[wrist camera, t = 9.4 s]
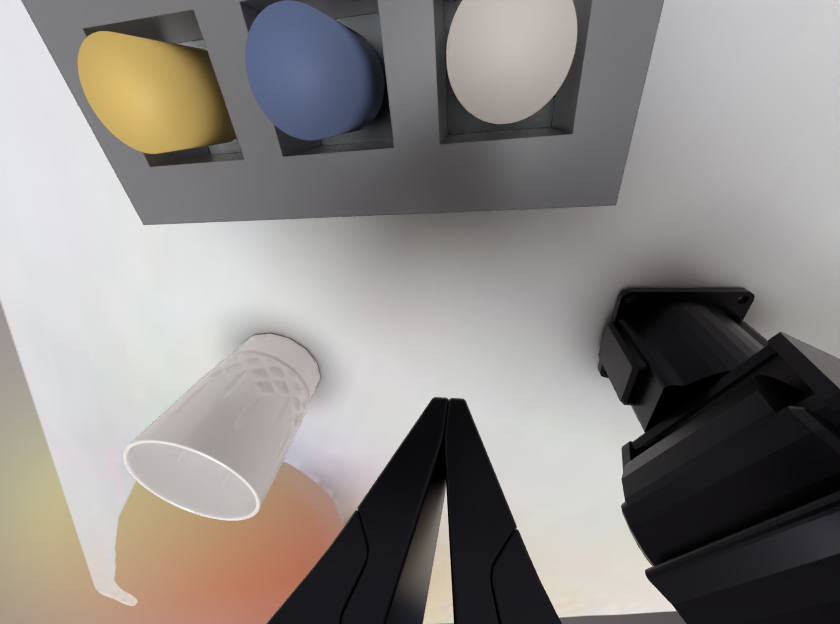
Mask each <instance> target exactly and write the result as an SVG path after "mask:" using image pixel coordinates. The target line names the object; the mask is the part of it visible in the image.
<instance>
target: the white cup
mask: <svg viewBox="0 0 840 624" xmlns="http://www.w3.org/2000/svg"><path fill="white" fill-rule="evenodd" d="M319 380H320V373H319V369H318V365H317V363H316V361H315V360H314V359H313V357H312V356H311V355H310V354H309V352H308V351H307V350H306V349H305V348H303V347H302V346H300V345H299V344H297V343H296V342H294V341H292V340H291V339H289V338H286V337H282V336H278V335H275V334H271V333H269V334H260V335H253V336H252V337H250V338H249V339H248V340H247V341H245V342H244V343H243V344H242V345H240V346H239V347H238V348H237V349H236V350H235V351H234V352H233V353H232V354H231V355H230V356H228V357H227V358H225V359H223V360H222V361H220V362H219V363H218V364H217V365H216V366H215V367H214V368H213V369H212V370H210V371H209V372H208V373H206V374H205V375H204V376H203V377H202V378H201V379H200V380H199V381H198V382H196V383H195V384H194V385H193V386H192V387H191V388H190V389H189V390H188V391H187V392H186V393H184V394H183V395H182V396H181V397H180V398H179V399H178V400H177V401H176V402H174V403H173V404H172V405H171V406H170V407H169V408H168V409H167V410H166V411H165V412H164V413H162V414H161V415H160V416H159V417H158V418H157V419H156V420H155V421H154V422H152V423H151V424H150V425H149V426H148V427H147V428H146V429H145V430H144V431H143V432H141V433H140V434H139V435H138V436H137V437H136V438H135V439H134V440H133V441H131V442H130V443H129V444H128V445H127V446H126V447H125V448H124V450H123V454H122V458H123V462H124V465H125V467H126V468H127V470H128V471H129V473H130V474H131V475H132V476H133V477H134V478H135V479H136V480H137V481H138V482H139V483H140V484H141V485H142V486H144V487H145V488H146V489H147V490H149V491H150V492H152V493H153V494H155V495H156V496H158V497H159V498H161V499H163V500H165V501H167V502H169V503H171V504H173V505H175V506H177V507H179V508H181V509H184V510H186V511H189V512H192V513H195V514H198V515H201V516H205V517H209V518H214V519H219V520H230V521H235V520H244V519H248V518H250V517H252V516H254V515H255V514H256V513H257V512H258V511H259V509H260V507H261V505H262V503H263V501H264V498H265V497H266V495H267V492H268V490H269V488H270V486H271V484H272V482H273V480H274V478H275V476H276V474H277V472H278V470H279V468H280V466H281V464H282V462H283V460H284V458H285V456H286V454H287V452H288V450H289V448H290V446H291V443H292V441H293V439H294V437H295V435H296V433H297V431H298V429H299V427H300V425H301V422H302V419H303V417H304V416H305V414H306V412H307V407H308V404H309V402H310V399H311V398H312V396H313V394H314V392H315V390H316V387H317V385H318V383H319Z"/></svg>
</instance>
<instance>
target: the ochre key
mask: <svg viewBox="0 0 840 624" xmlns="http://www.w3.org/2000/svg"><path fill="white" fill-rule="evenodd" d="M78 73H79V79H80V82H81V86H82V88H83V91H84V94H85V96H86V98H87V100H88V102H89V104H90V106H91V107H92V109H93V111H94V112H95V114H96V115H97V117H98V118H99V119H100V121H101V122H102V123H103V124H104V126H105V127H106V128H107V129H108V130H109V131H110V132H111V133H112V134H113V135H114V136H115V137H117V138H118V139H119V140H120V141H122V142H123V143H125V144H126V145H128V146H130V147H131V148H133V149H135V150H138V151H141V152H144V153H149V154H158V153H164V152H171V151H177V150H183V149H189V148H196V147H202V146H208V145H214V144H221V143H227V142H230V141H233V140H234V139H236V138H237V136H236V133H235V130H234V127H233V124H232V121H231V119H230V116H229V113H228V110H227V107H226V104H225V101H224V98H223V95H222V92H221V89H220V86H219V83H218V80H217V77H216V74H215V71H214V68H213V66H212V63H211V60H210V57H209V54H208V51H206V50H202V49H198V48H193V47H188V46H183V45H178V44H173V43H167V42H162V41H157V40H152V39H147V38H141V37H136V36H131V35H126V34H121V33H116V32H110V31H98V32H95V33H92V34H91V35H89V36H88V37H87V38H86V39H84V41H83V43H82V44H81V46H80V49H79V53H78Z"/></svg>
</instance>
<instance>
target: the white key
mask: <svg viewBox="0 0 840 624" xmlns="http://www.w3.org/2000/svg"><path fill="white" fill-rule="evenodd" d="M576 42H577V18H576V11H575V7H574V3H573V0H462V2H461V3H460V5H459V7H458V9H457V11H456V13H455V16H454V18H453V21H452V24H451V27H450V31H449V35H448V41H447V49H446V62H447V71H448V76H449V80H450V83H451V86H452V89H453V91H454V93H455V95H456V97H457V98H458V100H459V102H460V103H461V104H462V105H463V107H464V108H465V109H466V110H467V111H468V112H469V113H471V114H472V115H474V116H475V117H476V118H478V119H481V120H483V121H486V122H489V123H494V124H508V123H514V122H517V121H520V120H523V119H525V118H527V117H529V116H531V115H533V114H534V113H536V112H537V111H538V110H540V109H541V108H542V107H544V106H545V105H546V104H547V103H548V102H549V101H550V100H551V98H552V97H553V96H554V95H555V94H556V92H557V91H558V89H559V88H560V86H561V85H562V83H563V81H564V79H565V78H566V76H567V74H568V71H569V69H570V66H571V64H572V60H573V57H574V53H575V48H576Z"/></svg>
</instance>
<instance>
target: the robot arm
mask: <svg viewBox="0 0 840 624" xmlns="http://www.w3.org/2000/svg"><path fill="white" fill-rule="evenodd" d="M628 296H632V298H631V299H629V300H625V299H626V298H627V297H628ZM742 296H743V297H742ZM740 297H742V298H741V299H739V298H740ZM738 299H739V300H738ZM753 300H754V294H753V293H751V292H750V291H748V290H747V289H744V288H629V289H625V290H623V291H622V292H620V294H619V296H618V299H617V302H616V306H615V309H614V313H613V317H612V320H611V321H610V322H609V323H608V324H607V325H606V329H605V332H604V336H603V340H602V343H601V347H600V351H599V358H600V363H599V366H598V370H599V372H600V374H601V376H603V377H606V378H609V379H610V381H611V383H612V385H613V387H614V389H615V391H616V393H617V396H618V398H619V400H620V401H621V402H622V403H623V404H624V405H631V406H632V408H633V410H634V412H635V414H636V416H637V418H638V420H639V422H640V424H641V426H642V428H643V430H644V432H645V433H644V434H643V435H642V436H640V437H639V438H637V439H636V440H635V441H633V442H631V441H630V442H628V443H627V444H625V445H624V446H623V447H622V461H623V475H622V484H623V490H624V496H625V502H624V503H623V504H622V506H621V508H622V513H623V516H624V518H625V520H626V522H627V525H628V527H629V529H630V532H631V533H632V535H633V537H634V539H635V541H636V543H637V545H638V547H639V548H640V550H641V551H642V553H643V554H644V556H645V557H646V559H647V560H648V561H649V563H650V564H651V565H652V566H653V567H650V568H648V569H646V570H645V574H646V576H647V578H648V580H649V581H650V582H651V583H652V584H653V585H654V586H655V587H656V588H657V589H658V590H659V591H660V592H661V593H662V595H663V596H664V597H665V598H666V599H667V600H668V601H669V602H670V603H671V604H672V605H673V606H674V608H675V609H676V610H677V611H678V613H679V614H680V615H681V617H682V618H683V619H684V621H685V622H686V623H687V624H840V359H839V358H836V357H834V356H832V355H830V354H828V353H826V352H823V351H821V350H819V349H817V348H815V347H813V346H811V345H808V344H806V343H804V342H802V341H800V340H798V339H796V338H793V337H791V336H789V335H787V334H785V333H783V332H779V333H778V334H776V335H775V336H774V337H772V338H771V339H770V340H768V341H767V340H766V339H765V338H764V337H762V336H761V335H760V334H759V333H758V332H756V331H755V330H754V329H753V328H752V327H750V326H749V325H748V324H747V323H745V322H744V321H743V319H744V317H745V315H746V313H747V311H748V310H749V308H750V306H751V304H752V302H753ZM605 370H606V371H605ZM446 487H447V505H448V523H449V541H450V559H451V577H452V595H453V613H454V624H561V621H560V619H559V617H558V615H557V614H556V612H555V610H554V608H553V606H552V604H551V601H550V599H549V597H548V595H547V593H546V591H545V589H544V587H543V585H542V583H541V581H540V579H539V577H538V575H537V572H536V570H535V568H534V566H533V563H532V561H531V559H530V557H529V554H528V552H527V550H526V547H525V545H524V542H523V540H522V538H521V535H520V533H519V530H517V529H516V528H517V526H516V523H515V521H514V518H513V516H512V514H511V511H510V509H509V506H508V504H507V501H506V499H505V496H504V494H503V491H502V489H501V487H500V484H499V482H498V479H497V477H496V474H495V472H494V469H493V467H492V464H491V462H490V460H489V457H488V455H487V452H486V450H485V447H484V445H483V442H482V440H481V437H480V435H479V433H478V430H477V428H476V425H475V423H474V420H473V418H472V415H471V413H470V410H469V408H468V406H467V403H466V401H465V400H464V399H460V398H450V399H448V398H442V397H434V398H433V399H432V400H431V401H430V403H429V404H428V406H427V407H426V409H425V410H424V411H423V413H422V414H421V416H420V417H419V419H418V420H417V422H416V423H415V425H414V426H413V427H412V429H411V430H410V432H409V433H408V435H407V436H406V438H405V439H404V441H403V442H402V443H401V445H400V446H399V448H398V449H397V451H396V452H395V454H394V455H393V457H392V458H391V460H390V461H389V462H388V464H387V465H386V467H385V468H384V470H383V471H382V473H381V474H380V476H379V477H378V478H377V480H376V481H375V483H374V484H373V486H372V487H371V489H370V490H369V492H368V493H367V495H366V496H365V497H364V499H363V500H362V502H361V503H360V505H359V506H358V510H356V511H355V512H354V513H353V515H352V516H351V518H350V519H349V521H348V522H347V523H346V525H345V526H344V528H343V529H342V530H341V532H340V533H339V535H338V536H337V537H336V539H335V540H334V541H333V543H332V544H331V546H330V547H329V549H328V550H327V551H326V552H325V554H324V555H323V556H322V557H321V558H320V560H319V561H318V562H317V563H316V565H315V566H314V567H313V568H312V570H311V571H310V572H309V573H308V575H307V576H306V577H305V578H304V579H303V581H302V582H301V583H300V584H299V585H298V587H297V588H296V589H295V590H294V591H293V592H292V594H291V595H290V596H289V597H288V598H287V600H286V601H285V602H284V603H283V605H282V606H281V607H280V608H279V609H278V610H277V612H276V613H275V614H274V615H273V617H272V618H271V619H270V620H269V621H268V622H267V624H423V619H424V613H425V607H426V601H427V596H428V590H429V584H430V578H431V572H432V567H433V561H434V555H435V549H436V543H437V538H438V532H439V526H440V520H441V514H442V509H443V503H444V497H445V491H446Z"/></svg>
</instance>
